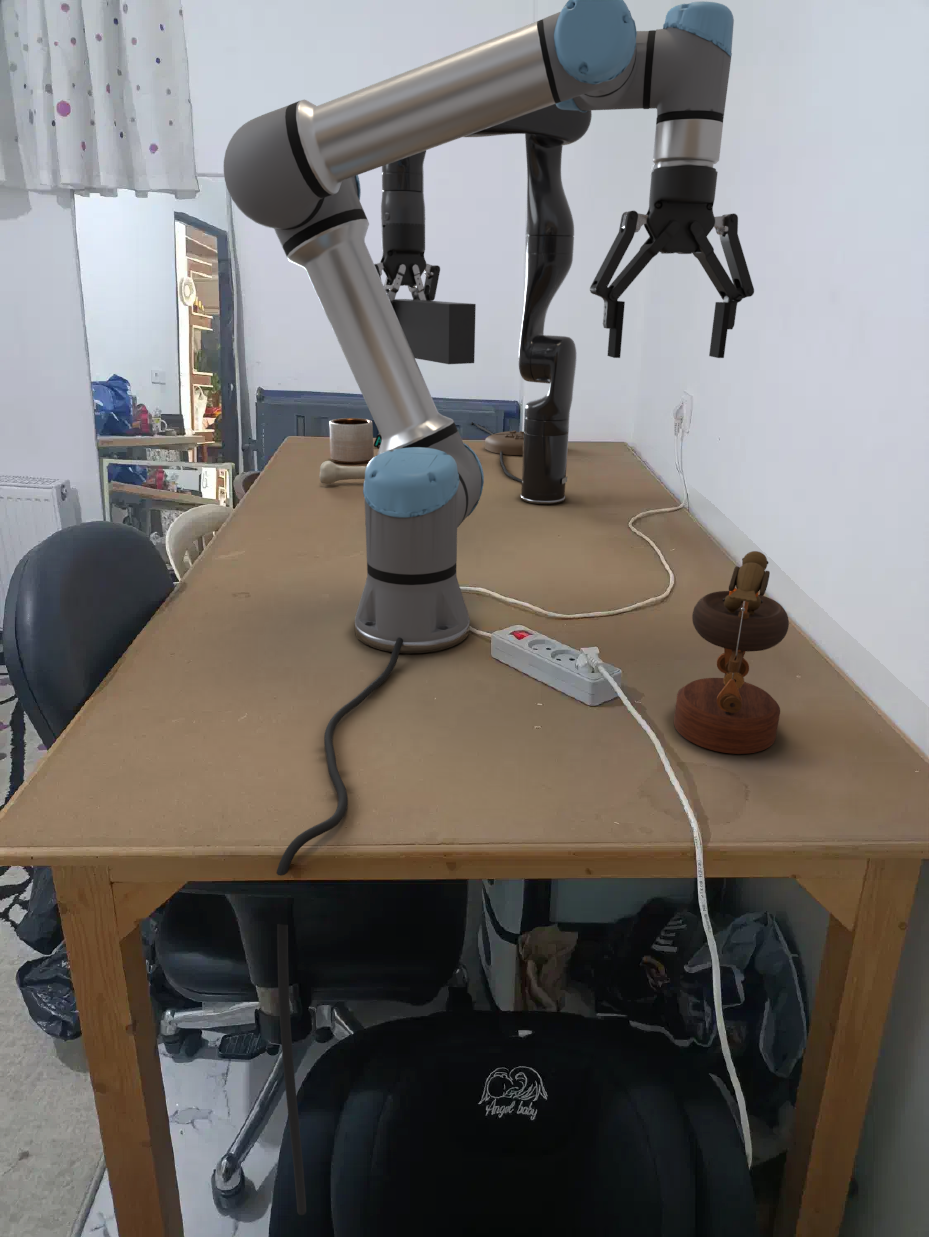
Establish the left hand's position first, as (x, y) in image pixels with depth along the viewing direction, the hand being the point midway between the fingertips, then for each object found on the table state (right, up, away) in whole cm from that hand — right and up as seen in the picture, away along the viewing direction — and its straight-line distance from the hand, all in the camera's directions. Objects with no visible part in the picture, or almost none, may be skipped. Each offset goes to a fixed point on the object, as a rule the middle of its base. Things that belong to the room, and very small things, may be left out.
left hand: (665, 357), depth 106 cm
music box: (+2, -44, -16) cm, 47 cm away
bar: (-32, +12, +40) cm, 53 cm away
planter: (-54, +7, +108) cm, 121 cm away
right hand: (-36, +19, +44) cm, 60 cm away
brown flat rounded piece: (-9, +11, +118) cm, 119 cm away
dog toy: (-48, -2, +84) cm, 97 cm away
